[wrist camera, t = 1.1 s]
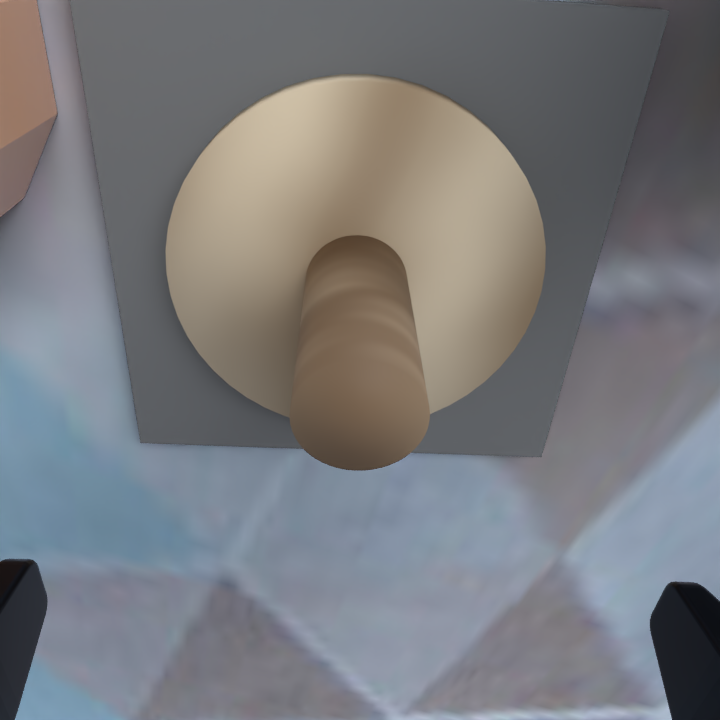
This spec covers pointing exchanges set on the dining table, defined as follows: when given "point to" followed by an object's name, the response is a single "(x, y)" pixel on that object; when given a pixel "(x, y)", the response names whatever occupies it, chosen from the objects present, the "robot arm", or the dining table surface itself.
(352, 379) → the lid
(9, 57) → the bowl
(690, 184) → the dining table surface
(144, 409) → the mat
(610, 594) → the dining table surface
